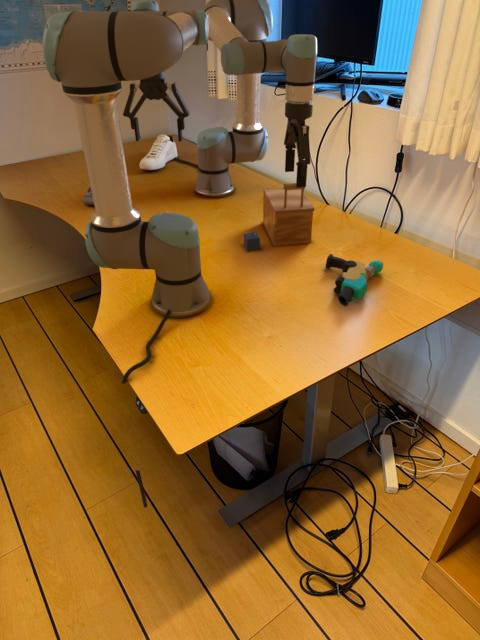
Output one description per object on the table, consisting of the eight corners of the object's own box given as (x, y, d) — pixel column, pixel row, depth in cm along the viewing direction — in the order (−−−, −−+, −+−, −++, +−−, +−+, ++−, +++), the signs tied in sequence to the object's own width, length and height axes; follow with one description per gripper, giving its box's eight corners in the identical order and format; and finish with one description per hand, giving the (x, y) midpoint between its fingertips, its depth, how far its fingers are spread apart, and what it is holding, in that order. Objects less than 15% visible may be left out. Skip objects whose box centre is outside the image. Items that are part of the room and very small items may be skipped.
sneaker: (133, 173, 208) (129, 144, 201) (161, 153, 230) (158, 127, 223) (155, 175, 205) (151, 146, 198) (180, 155, 227) (178, 129, 220)
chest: (310, 242, 153) (313, 210, 146) (273, 245, 151) (274, 213, 145) (296, 220, 167) (298, 189, 160) (262, 222, 165) (263, 192, 159)
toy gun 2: (303, 285, 123) (360, 300, 117) (335, 245, 141) (386, 256, 135) (302, 300, 125) (358, 315, 119) (334, 258, 144) (383, 270, 138)
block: (260, 249, 149) (260, 237, 147) (247, 251, 148) (247, 239, 146) (256, 243, 152) (256, 231, 150) (243, 245, 152) (243, 233, 149)
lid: (314, 211, 145) (316, 184, 140) (275, 214, 144) (276, 187, 139) (298, 189, 160) (300, 164, 155) (263, 191, 159) (263, 167, 154)
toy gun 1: (139, 195, 187) (124, 210, 175) (95, 192, 190) (77, 207, 178) (137, 185, 184) (122, 200, 173) (93, 182, 188) (75, 197, 176)
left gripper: (195, 62, 139) (200, 137, 152) (112, 62, 141) (123, 136, 154) (191, 66, 133) (196, 143, 146) (105, 66, 135) (117, 143, 148)
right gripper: (326, 110, 119) (319, 193, 131) (300, 92, 139) (296, 164, 151) (297, 112, 118) (293, 194, 130) (275, 93, 138) (273, 166, 150)
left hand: (159, 140), depth 150 cm, fingers open, 13 cm apart
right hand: (295, 178), depth 141 cm, fingers open, 13 cm apart
